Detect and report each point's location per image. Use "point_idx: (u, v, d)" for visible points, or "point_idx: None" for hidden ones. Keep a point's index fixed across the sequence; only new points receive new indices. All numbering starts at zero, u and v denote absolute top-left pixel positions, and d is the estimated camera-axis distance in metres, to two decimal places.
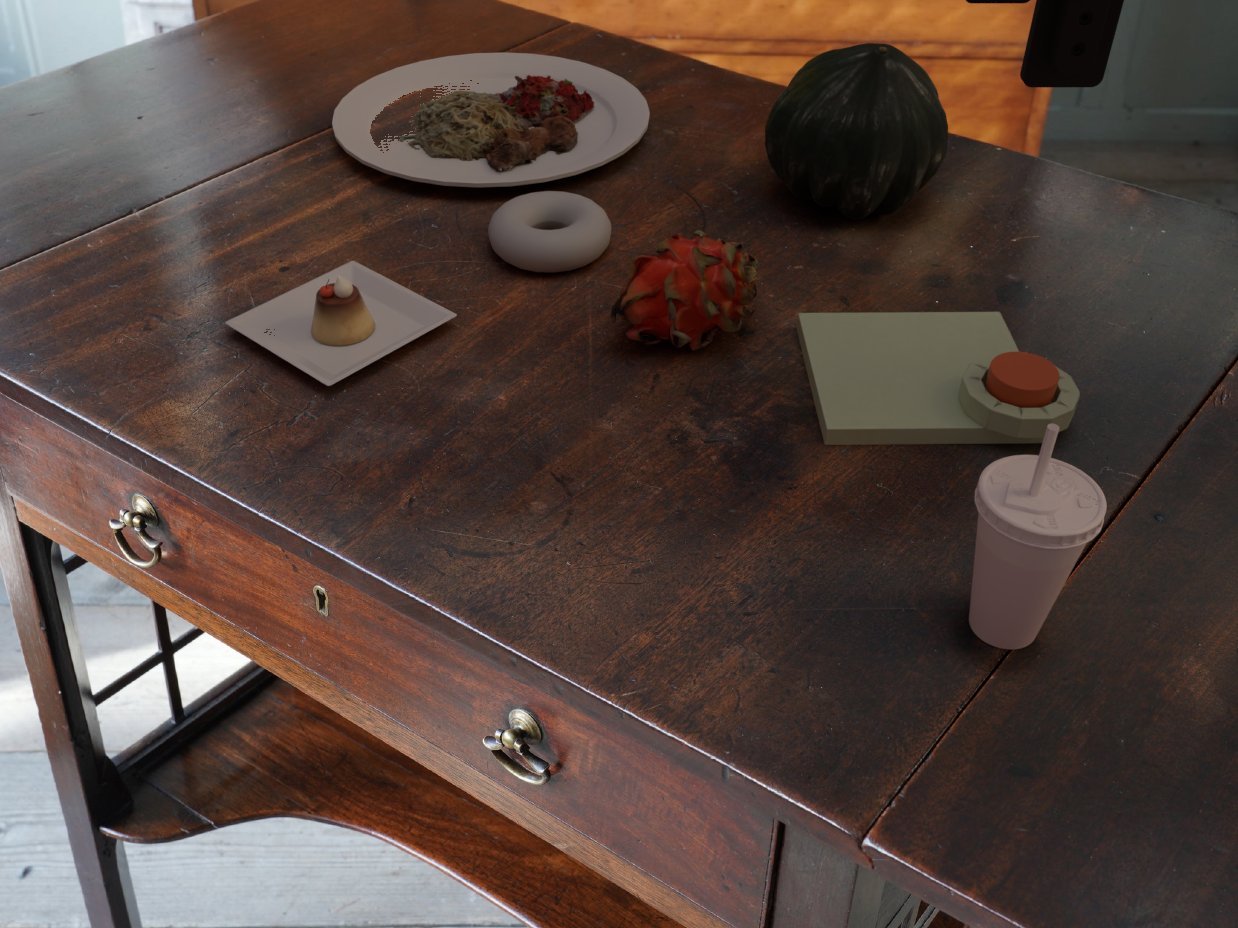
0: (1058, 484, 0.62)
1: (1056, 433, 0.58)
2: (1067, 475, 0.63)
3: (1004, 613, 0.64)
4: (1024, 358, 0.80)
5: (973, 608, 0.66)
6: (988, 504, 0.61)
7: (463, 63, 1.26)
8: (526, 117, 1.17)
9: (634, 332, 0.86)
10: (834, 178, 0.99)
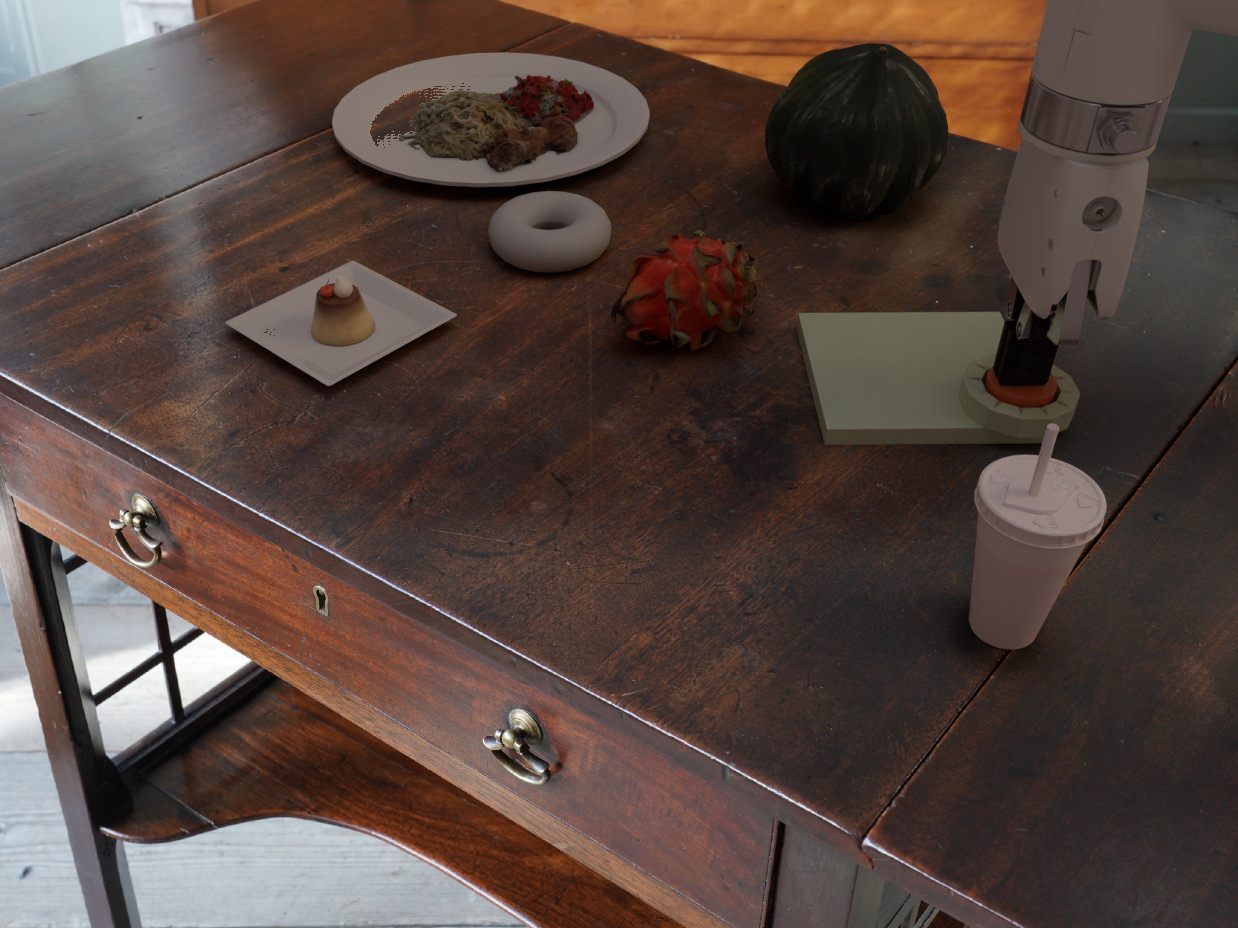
0: (1058, 484, 0.62)
1: (1056, 433, 0.58)
2: (1067, 475, 0.63)
3: (1004, 613, 0.64)
4: None
5: (973, 608, 0.66)
6: (988, 504, 0.61)
7: (463, 63, 1.26)
8: (526, 117, 1.17)
9: (634, 332, 0.86)
10: (834, 178, 0.99)
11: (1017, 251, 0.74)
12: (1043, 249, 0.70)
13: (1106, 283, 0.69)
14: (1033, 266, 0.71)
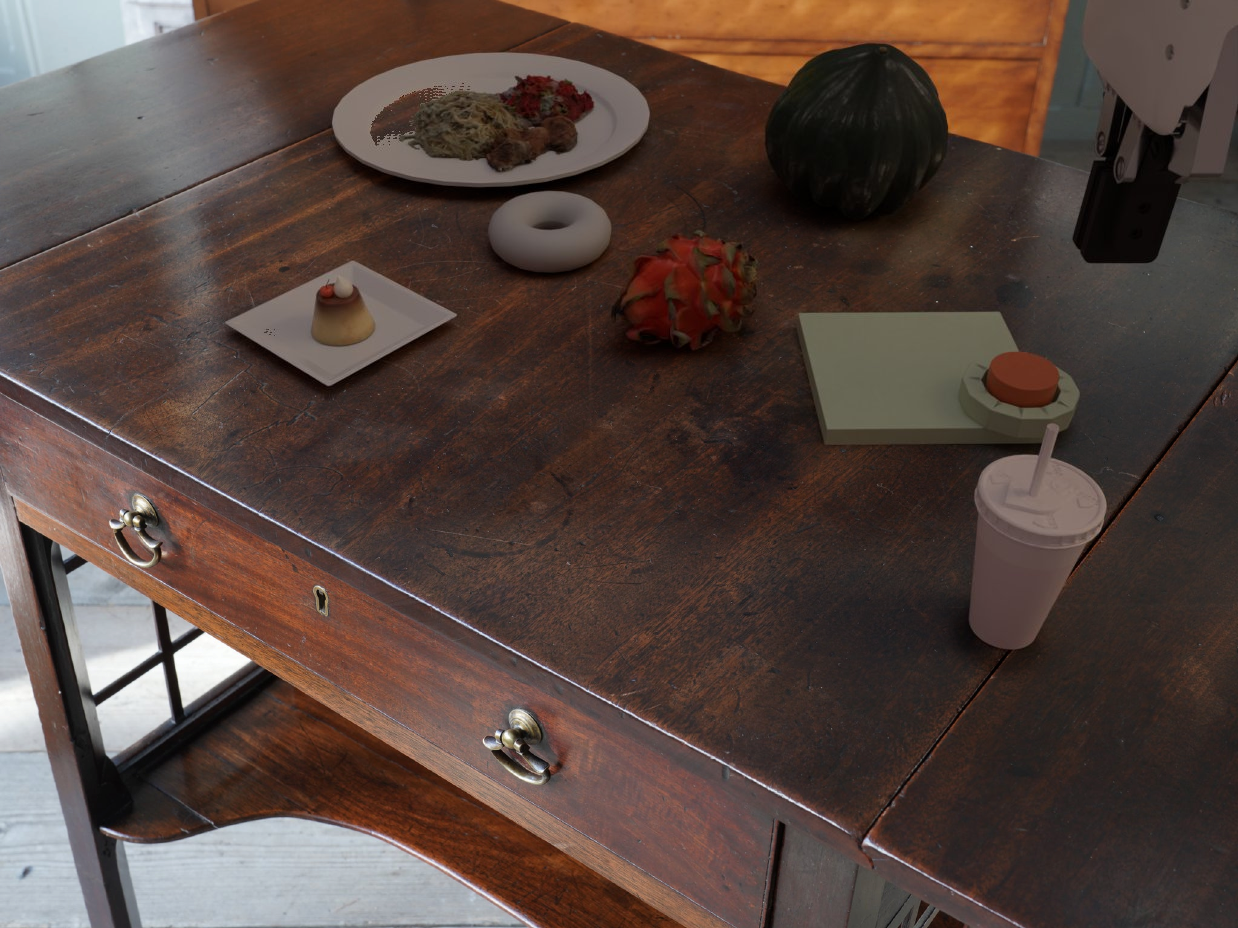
0: (1058, 484, 0.62)
1: (1056, 433, 0.58)
2: (1067, 475, 0.63)
3: (1004, 613, 0.64)
4: (1024, 358, 0.80)
5: (973, 608, 0.66)
6: (988, 504, 0.61)
7: (463, 63, 1.26)
8: (526, 117, 1.17)
9: (634, 332, 0.86)
10: (834, 178, 0.99)
11: (1120, 37, 0.47)
12: (1171, 13, 0.43)
13: None
14: (1152, 48, 0.44)
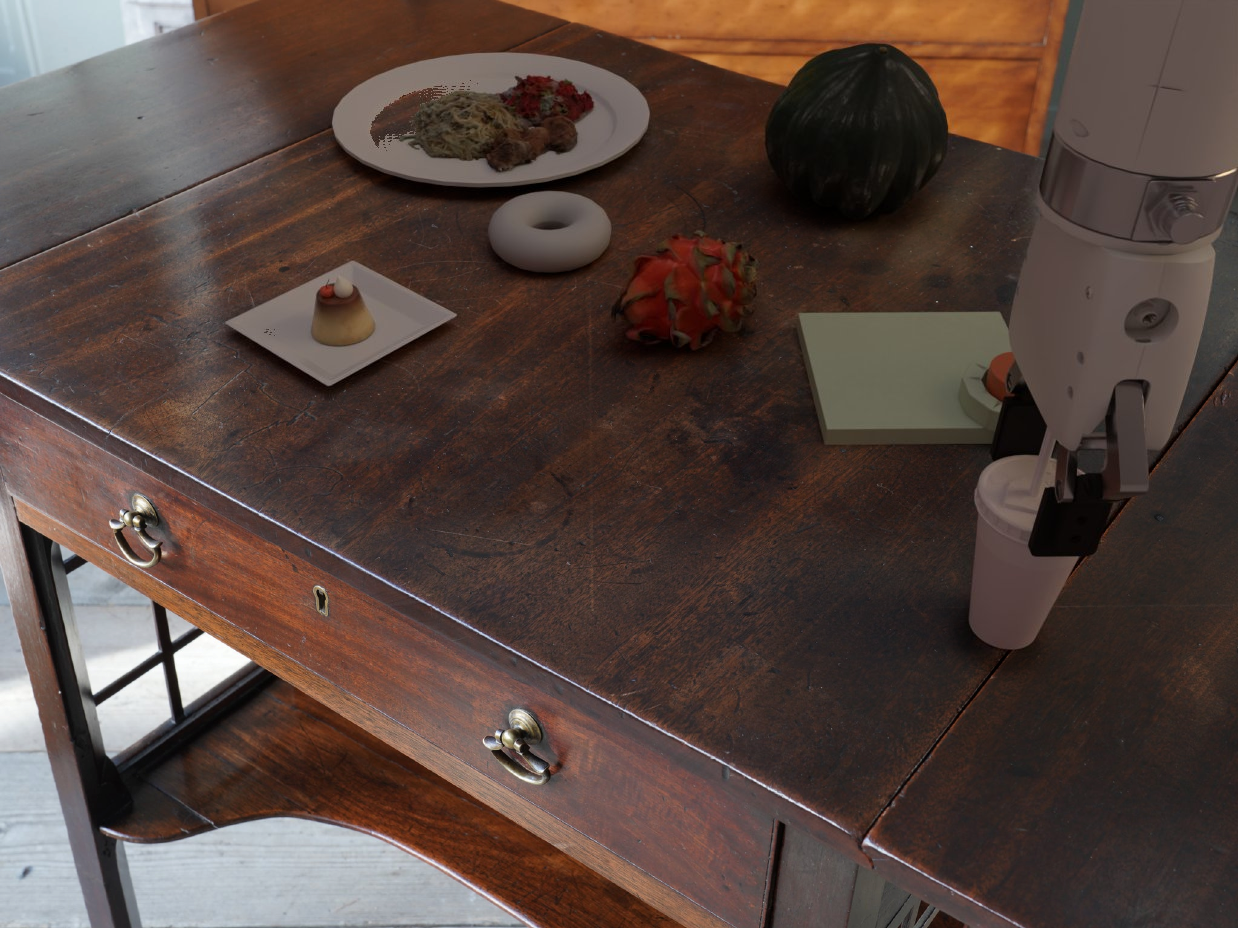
0: None
1: None
2: None
3: (1004, 613, 0.64)
4: None
5: (973, 608, 0.66)
6: (988, 504, 0.61)
7: (463, 63, 1.26)
8: (526, 117, 1.17)
9: (634, 332, 0.86)
10: (834, 178, 0.99)
11: (1035, 357, 0.56)
12: (1070, 362, 0.52)
13: (1156, 408, 0.52)
14: (1057, 383, 0.53)
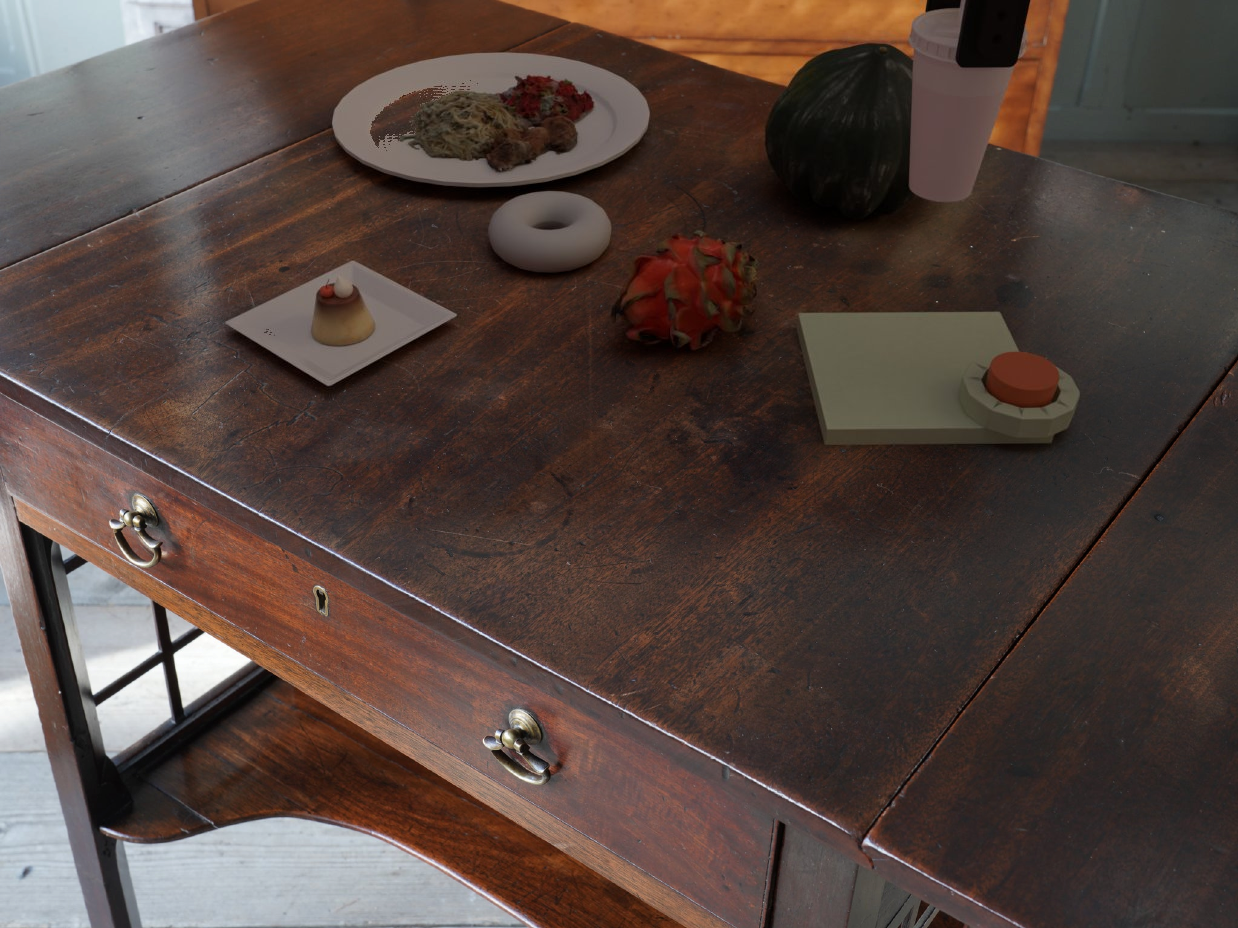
0: None
1: None
2: None
3: (938, 156, 0.70)
4: (1024, 358, 0.80)
5: (912, 165, 0.72)
6: (920, 34, 0.67)
7: (463, 63, 1.26)
8: (526, 117, 1.17)
9: (634, 332, 0.86)
10: (834, 178, 0.99)
11: None
12: None
13: None
14: None
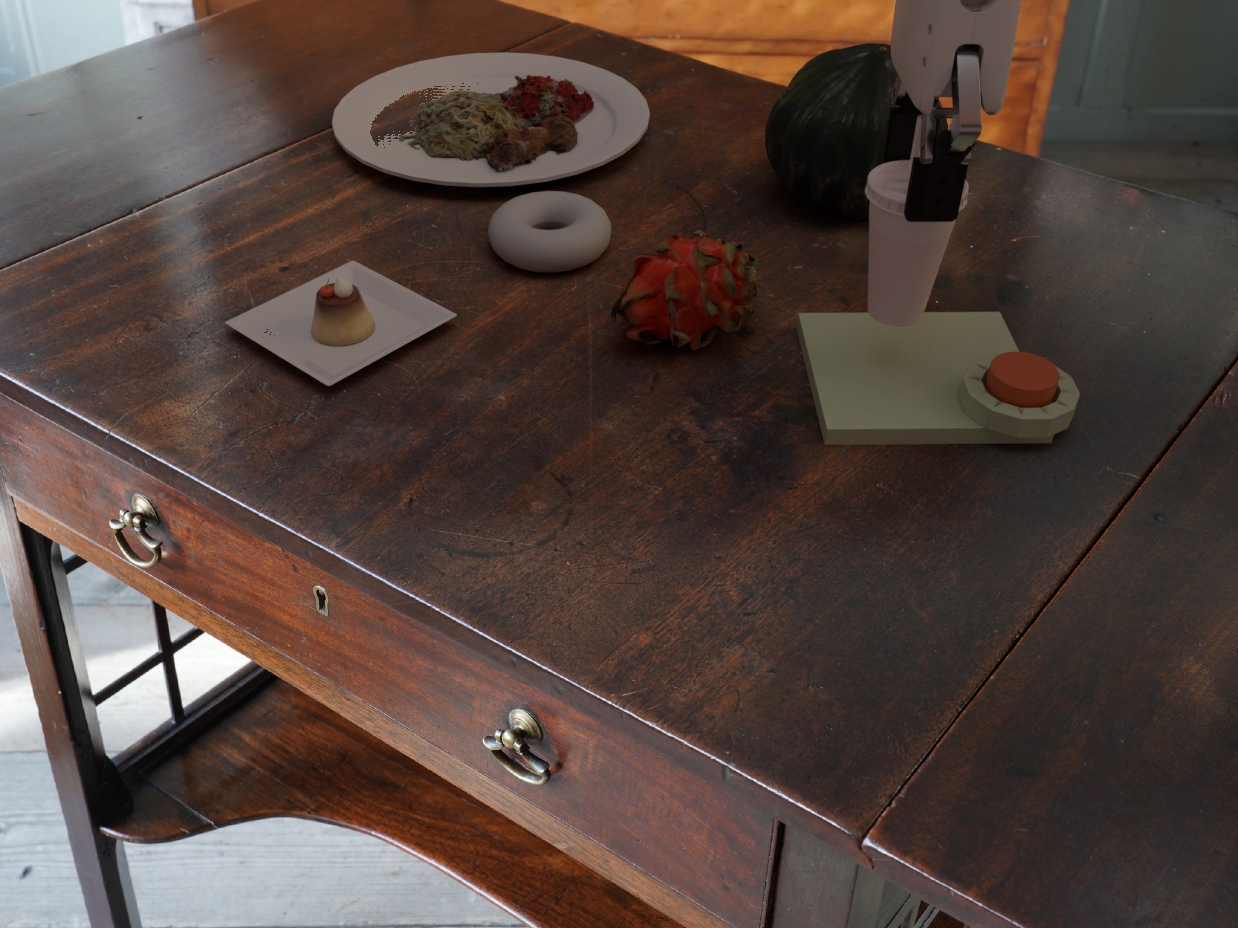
0: None
1: None
2: None
3: (891, 289, 0.79)
4: (1024, 358, 0.80)
5: (869, 293, 0.81)
6: (874, 188, 0.76)
7: (463, 63, 1.26)
8: (526, 117, 1.17)
9: (634, 332, 0.86)
10: (834, 178, 0.99)
11: (904, 51, 0.71)
12: (924, 36, 0.67)
13: (989, 71, 0.67)
14: (917, 59, 0.69)
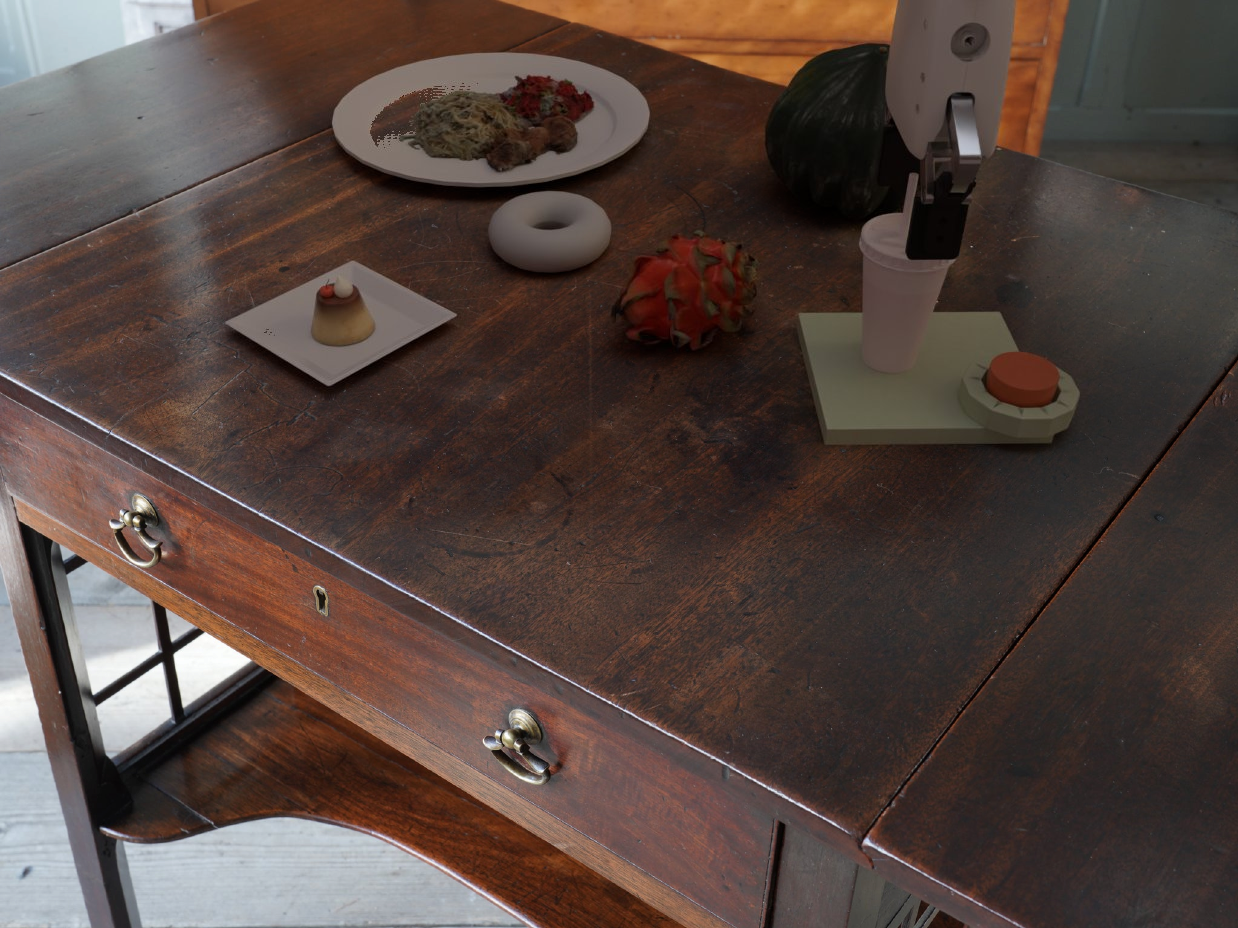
0: None
1: (916, 179, 0.76)
2: None
3: (884, 338, 0.82)
4: (1024, 358, 0.80)
5: (863, 341, 0.84)
6: (867, 241, 0.78)
7: (463, 63, 1.26)
8: (526, 117, 1.17)
9: (634, 332, 0.86)
10: (834, 178, 0.99)
11: (898, 96, 0.73)
12: (916, 84, 0.69)
13: (980, 118, 0.69)
14: (910, 105, 0.70)
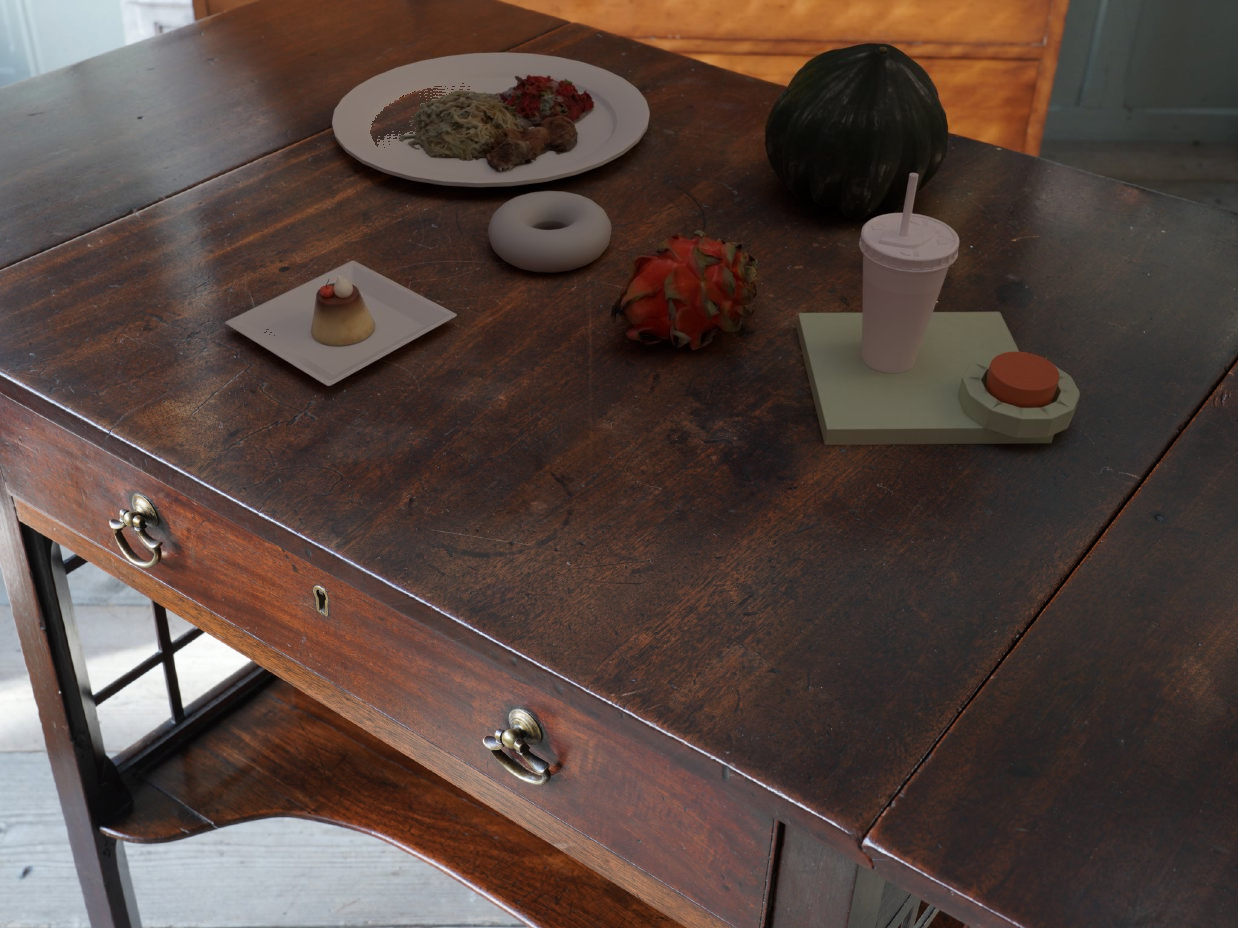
0: (923, 229, 0.79)
1: (916, 179, 0.76)
2: (932, 225, 0.80)
3: (884, 338, 0.82)
4: (1024, 358, 0.80)
5: (863, 341, 0.84)
6: (867, 241, 0.78)
7: (463, 63, 1.26)
8: (526, 117, 1.17)
9: (634, 332, 0.86)
10: (834, 178, 0.99)
11: None
12: None
13: None
14: None
